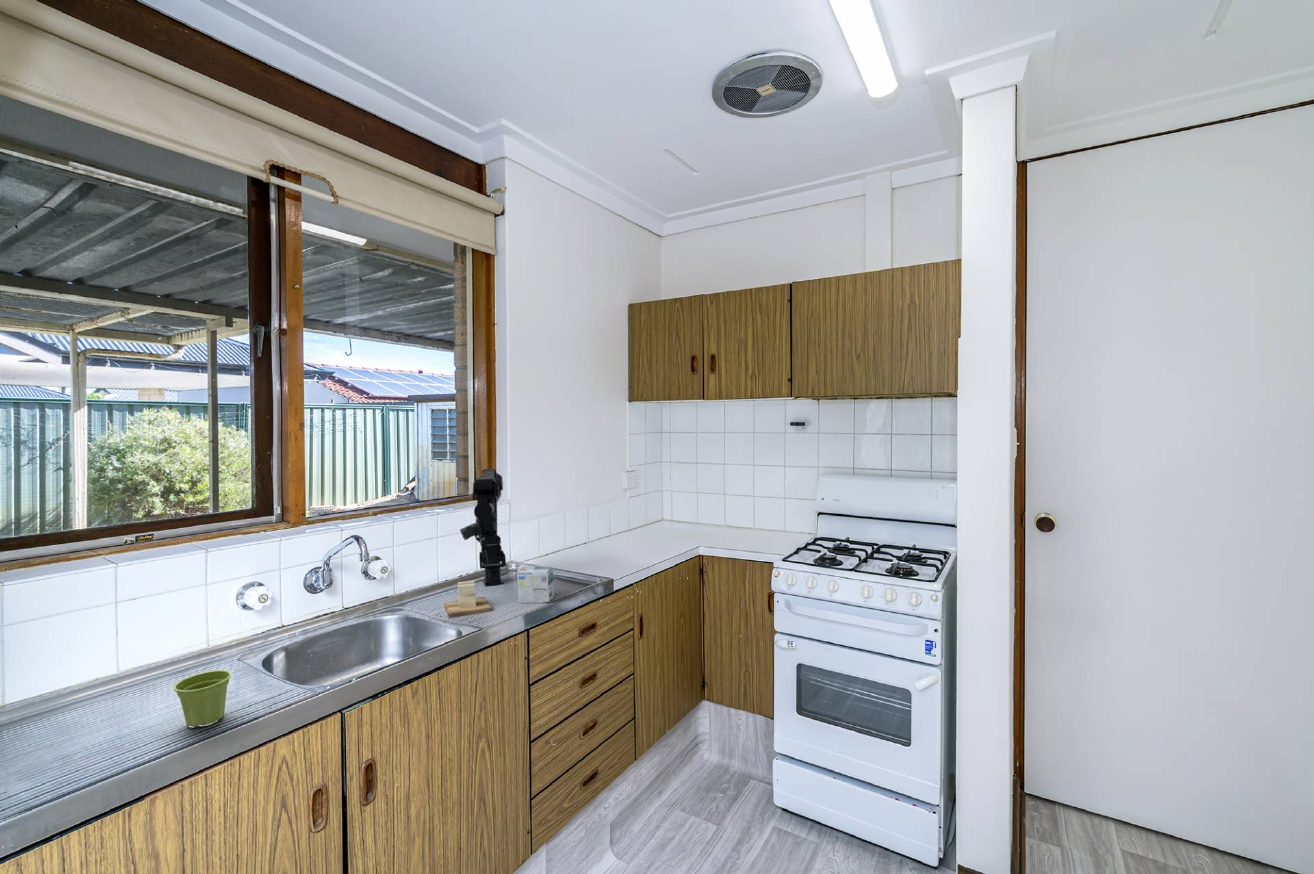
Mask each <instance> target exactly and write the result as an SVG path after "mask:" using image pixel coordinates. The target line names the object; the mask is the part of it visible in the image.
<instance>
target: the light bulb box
mask: <svg viewBox="0 0 1314 874" xmlns="http://www.w3.org/2000/svg"><path fill="white" fill-rule="evenodd" d="M553 571H554V569H553V565H549V566H548V565H547V566H522V567H520V569H518V570H517V571H516V574H517V575H516V581H517V603H518V604H544V603H543V602H545V601H550V600H551V599H552V600H553V598H554V597H555V595H554V593H555V592H554V573H553ZM552 600H551V601H552ZM551 601H550V602H551Z"/></svg>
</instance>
